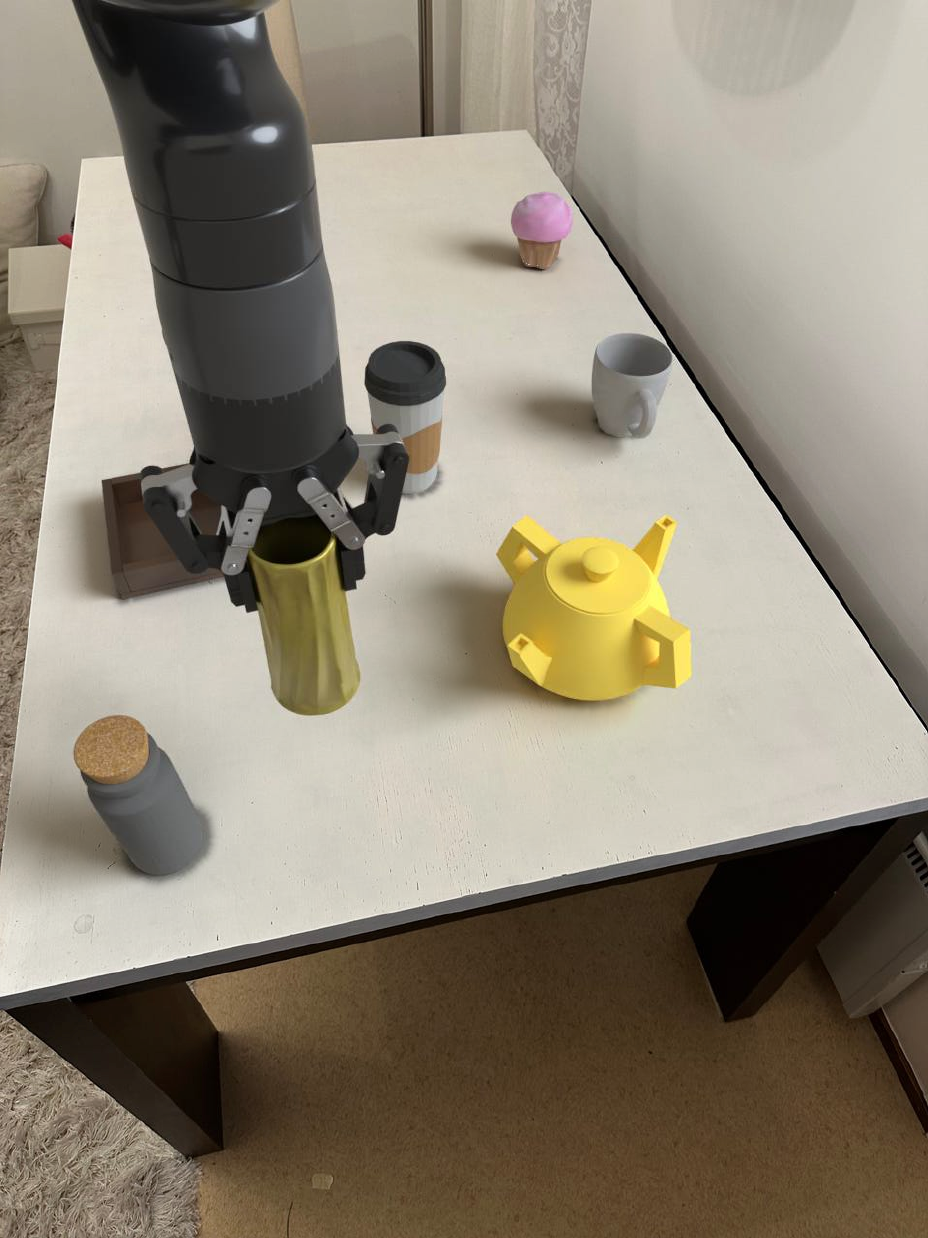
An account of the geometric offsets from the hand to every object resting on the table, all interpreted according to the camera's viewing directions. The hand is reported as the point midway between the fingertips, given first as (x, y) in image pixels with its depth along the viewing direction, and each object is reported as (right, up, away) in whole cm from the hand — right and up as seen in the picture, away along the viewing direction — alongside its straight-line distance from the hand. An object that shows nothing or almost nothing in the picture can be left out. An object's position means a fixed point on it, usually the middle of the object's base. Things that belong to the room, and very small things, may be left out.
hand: (299, 590), depth 51 cm
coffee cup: (+4, +14, +44) cm, 47 cm away
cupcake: (+21, +51, +75) cm, 93 cm away
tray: (-19, +7, +38) cm, 43 cm away
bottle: (-14, -20, +16) cm, 29 cm away
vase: (0, -6, +7) cm, 10 cm away
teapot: (+21, -4, +30) cm, 37 cm away
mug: (+29, +21, +50) cm, 62 cm away
